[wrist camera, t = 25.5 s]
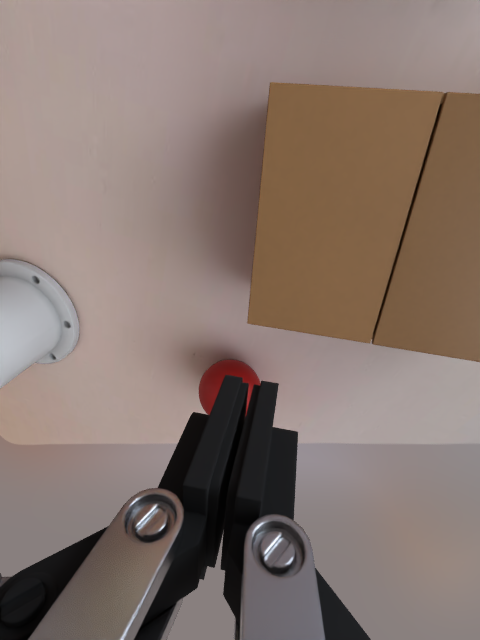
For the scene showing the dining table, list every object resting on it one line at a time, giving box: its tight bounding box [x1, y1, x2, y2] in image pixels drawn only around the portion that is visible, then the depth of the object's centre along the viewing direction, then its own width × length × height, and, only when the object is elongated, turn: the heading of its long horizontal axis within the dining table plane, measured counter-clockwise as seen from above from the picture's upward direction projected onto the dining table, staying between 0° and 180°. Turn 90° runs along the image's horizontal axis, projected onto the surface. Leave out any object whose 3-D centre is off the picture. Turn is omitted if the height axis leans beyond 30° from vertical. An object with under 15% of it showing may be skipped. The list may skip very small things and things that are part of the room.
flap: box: [247, 82, 443, 343], centre depth 22 cm, size 9×15×1 cm, turn 176°
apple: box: [199, 360, 260, 415], centre depth 34 cm, size 6×6×7 cm
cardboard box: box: [371, 92, 480, 362], centre depth 24 cm, size 18×15×7 cm
